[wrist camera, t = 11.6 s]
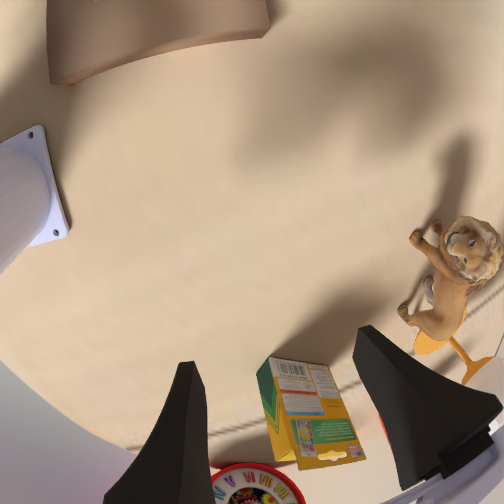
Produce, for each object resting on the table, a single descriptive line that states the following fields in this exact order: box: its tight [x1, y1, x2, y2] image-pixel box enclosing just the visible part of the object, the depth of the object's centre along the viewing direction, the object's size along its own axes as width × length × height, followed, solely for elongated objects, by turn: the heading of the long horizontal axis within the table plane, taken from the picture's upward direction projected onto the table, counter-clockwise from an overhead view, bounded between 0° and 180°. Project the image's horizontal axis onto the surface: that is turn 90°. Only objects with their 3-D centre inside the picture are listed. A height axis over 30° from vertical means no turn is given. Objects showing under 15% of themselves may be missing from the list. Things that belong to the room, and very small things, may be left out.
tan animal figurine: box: [398, 216, 504, 341], centre depth 19 cm, size 15×5×9 cm, turn 17°
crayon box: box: [256, 357, 366, 471], centre depth 22 cm, size 7×3×12 cm, turn 65°
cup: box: [414, 304, 504, 436], centre depth 22 cm, size 9×9×16 cm
